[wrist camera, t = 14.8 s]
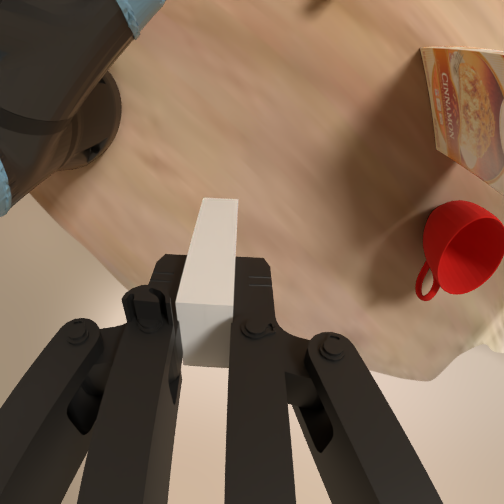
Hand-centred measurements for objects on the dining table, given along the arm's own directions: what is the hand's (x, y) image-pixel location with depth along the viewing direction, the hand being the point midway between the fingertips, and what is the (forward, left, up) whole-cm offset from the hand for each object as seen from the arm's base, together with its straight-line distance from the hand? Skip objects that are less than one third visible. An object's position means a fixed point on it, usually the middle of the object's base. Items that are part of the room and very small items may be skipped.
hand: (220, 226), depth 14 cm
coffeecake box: (+28, +8, -27) cm, 39 cm away
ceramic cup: (+32, -13, -27) cm, 44 cm away
